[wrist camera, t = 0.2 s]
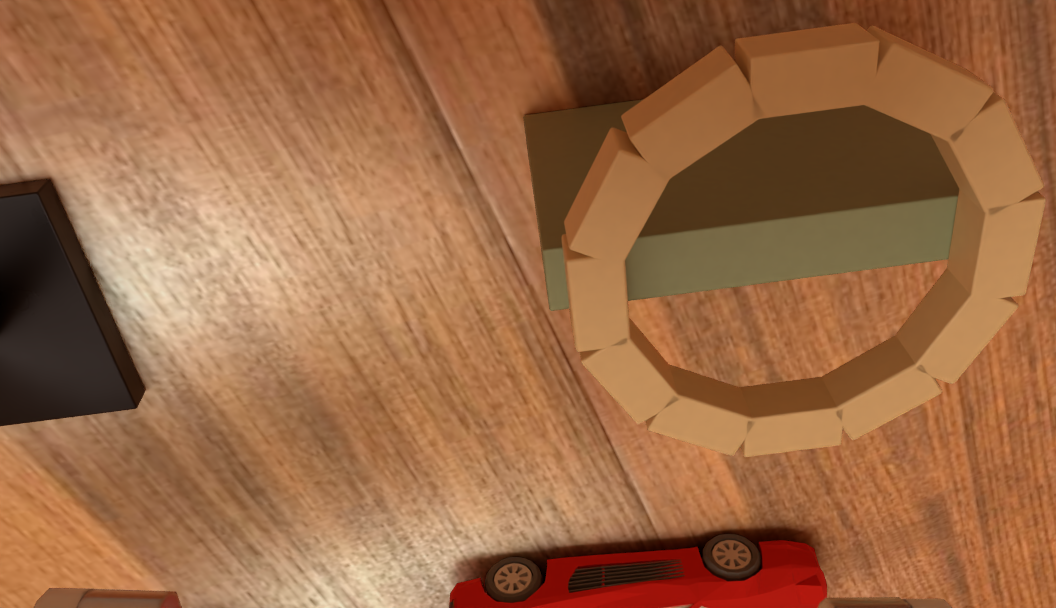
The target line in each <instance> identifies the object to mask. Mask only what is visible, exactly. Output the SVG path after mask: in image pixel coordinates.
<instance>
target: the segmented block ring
mask: <svg viewBox="0 0 1056 608" xmlns="http://www.w3.org/2000/svg"><path fill="white" fill-rule="evenodd" d="M993 91H994V89H993V88H992V87H991V86H990V85H988V84H987V83H985V82H984V81H983V80H981V79H980V78H978V77H977V76H975V75H974V74H972V73H971V72H970V71H968V70H967V69H965V68H963V67H961V66H959V65H957V64H954V63H952V62H950V61H948V60H946V59H944V58H942V57H939V56H937V55H935V54H933V53H931V52H929V51H927V50H924V49H922V48H920V47H918V46H916V45H914V44H912V43H910V42H907V41H905V40H903V39H901V38H899V37H897V36H895V35H892V34H890V33H888V32H886V31H884V30H882V29H880V28H877V27H875V26H870V27H869V28H868V30H867V31H866V30H865V29H863V28H862V27H861V26H860V25H858V24H857V23H849V24H841V25H834V26H827V27H819V28H812V29H804V30H797V31H790V32H782V33H775V34H767V35H760V36H752V37H745V38H738V39H736V40H735V61H734V60H733V59H732V57H731V56H730V55H729V54H728V52H727V51H726V50H725V49H724V47H723V46H719V47H717V48H716V49H714V50H713V51H712V52H710V53H709V54H707V55H706V56H704V57H703V58H702V59H700V60H699V61H697V62H696V63H695V64H693V65H692V66H690V67H689V68H688V69H686V70H685V71H683V72H682V73H680V74H679V75H678V76H676V77H675V78H673V79H672V80H671V81H669V82H668V83H666V84H665V85H664V86H662V87H661V88H659V89H658V90H656V91H655V92H654V93H652V94H651V95H649V96H648V97H647V98H645V99H644V100H642V101H641V102H640V103H638V104H637V105H635V106H634V107H632V108H631V109H630V110H628V111H627V112H625V113H624V114H623V115H622V116H621V118H622V121H623V123H624V126H625V128H626V131H627V133H626V132H624V131H621V130H619V129H616V128H611V129H610V130H609V132H608V134H607V136H606V138H605V140H604V142H603V144H602V146H601V148H600V150H599V152H598V154H597V156H596V158H595V160H594V162H593V164H592V166H591V168H590V170H589V172H588V174H587V176H586V178H585V180H584V182H583V184H582V186H581V188H580V190H579V192H578V194H577V196H576V198H575V200H574V202H573V204H572V206H571V208H570V210H569V212H568V215H567V217H566V219H565V221H564V225H565V230H566V234H564V235H562V238H561V239H562V248H563V257H564V266H565V275H566V284H567V292H568V301H569V310H570V319H571V326H572V332H573V338H574V343H575V349H576V350H577V352H580V358H581V363H582V364H583V365H584V366H585V367H586V368H587V369H588V371H589V372H590V373H591V374H592V375H593V376H594V377H595V378H596V379H597V380H598V381H599V383H600V384H601V385H602V386H603V387H604V388H605V389H606V390H607V391H608V392H609V394H610V395H611V396H612V397H613V398H614V399H615V400H616V401H617V402H618V403H619V405H620V406H621V407H622V408H623V409H624V410H625V411H626V412H627V413H628V414H629V415H630V417H631V418H632V419H633V420H634V421H635V422H636V423H637V424H641V423H642V422H644V421H645V422H646V426H647V429H648V430H649V431H651V432H654V433H658V434H661V435H664V436H668V437H671V438H674V439H677V440H681V441H684V442H687V443H691V444H694V445H697V446H701V447H704V448H707V449H710V450H714V451H717V452H720V453H724V454H727V455H730V456H733V455H734V454H735V453H736V451H737V450H738V449H739V447H741V450H742V452H743V455H744V457H751V456H759V455H767V454H775V453H783V452H791V451H798V450H806V449H814V448H822V447H830V446H838V445H841V440H842V429H844V431H845V432H846V433H847V435H848V436H849V437H850V439H852V440H855V439H857V438H859V437H861V436H863V435H865V434H867V433H868V432H870V431H872V430H874V429H876V428H878V427H880V426H881V425H883V424H885V423H887V422H889V421H891V420H893V419H895V418H896V417H898V416H900V415H902V414H904V413H906V412H908V411H909V410H911V409H913V408H915V407H917V406H919V405H921V404H923V403H924V402H926V401H928V400H930V399H932V398H934V397H936V396H938V395H939V394H941V393H942V389H941V387H940V386H939V384H938V382H937V381H936V379H939V380H942V381H944V382H947V383H950V384H954V383H955V382H956V381H957V380H958V379H959V377H960V376H961V375H962V374H963V373H964V371H965V370H966V369H967V368H968V367H969V365H970V364H971V363H972V362H973V361H974V359H975V358H976V357H977V356H978V355H979V353H980V352H981V351H982V350H983V349H984V347H985V346H986V345H987V344H988V343H989V341H990V340H991V339H992V338H993V337H994V335H995V334H996V333H997V332H998V331H999V330H1000V328H1001V327H1002V326H1003V325H1004V324H1005V322H1006V321H1007V320H1008V319H1009V318H1010V316H1011V315H1012V314H1013V313H1014V312H1015V310H1016V309H1017V308H1018V304H1017V303H1016V302H1015V301H1014V300H1013V299H1012V298H1011V297H1013V296H1020V295H1025V294H1026V290H1027V285H1028V280H1029V276H1030V271H1031V267H1032V262H1033V258H1034V253H1035V248H1036V244H1037V239H1038V235H1039V230H1040V225H1041V221H1042V216H1043V212H1044V207H1045V203H1046V198H1045V197H1044V196H1042V195H1041V194H1040V193H1039V192H1038V190H1040V189H1042V188H1043V187H1044V183H1043V181H1042V179H1041V177H1040V175H1039V172H1038V170H1037V168H1036V166H1035V164H1034V162H1033V159H1032V157H1031V155H1030V153H1029V151H1028V149H1027V147H1026V144H1025V142H1024V140H1023V138H1022V136H1021V134H1020V131H1019V129H1018V127H1017V125H1016V123H1015V121H1014V119H1013V116H1012V114H1011V112H1010V110H1009V108H1008V106H1007V104H1006V101H1005V99H1003V98H1002V97H1000V96H999V95H997V94H996V93H995V92H993ZM860 105H865V106H868V107H870V108H872V109H875V110H877V111H879V112H881V113H884V114H886V115H888V116H891V117H893V118H895V119H897V120H900V121H902V122H904V123H907V124H909V125H911V126H913V127H916V128H918V129H920V130H922V131H925V132H927V133H929V134H931V136H932V138H933V140H934V142H935V143H936V145H937V147H938V149H939V151H940V153H941V155H942V157H943V159H944V161H945V162H946V164H947V166H948V168H949V170H950V172H951V174H952V176H953V178H954V180H955V181H956V183H957V185H958V187H959V195H958V201H957V207H956V213H955V220H954V226H953V232H952V239H951V245H950V251H949V258H948V264H947V269H946V270H945V271H944V272H943V274H942V275H941V276H940V278H939V279H938V280H937V282H936V283H935V284H934V285H933V287H932V288H931V289H930V291H929V292H928V293H927V295H926V296H925V297H924V298H923V300H922V301H921V302H920V304H919V305H918V306H917V308H916V309H915V310H914V312H913V313H912V314H911V315H910V317H909V318H908V319H907V321H906V322H905V323H904V325H903V326H902V327H901V328H900V330H899V331H898V332H897V334H896V335H895V336H893V337H891V338H890V339H888V340H886V341H884V342H883V343H881V344H879V345H877V346H876V347H874V348H872V349H870V350H868V351H867V352H865V353H863V354H861V355H860V356H858V357H856V358H854V359H852V360H851V361H849V362H847V363H845V364H844V365H842V366H840V367H838V368H837V369H835V370H833V371H831V372H829V373H828V374H826V375H824V376H822V377H817V378H809V379H801V380H793V381H785V382H777V383H770V384H762V385H754V386H746V387H736V386H733V385H730V384H727V383H724V382H721V381H718V380H715V379H712V378H709V377H706V376H703V375H700V374H697V373H694V372H691V371H687V370H684V369H681V368H678V367H675V366H672V365H669V364H668V363H667V362H666V361H665V359H664V358H663V357H662V356H661V355H660V353H659V352H658V351H657V350H656V349H655V348H654V346H653V345H652V344H651V343H650V342H649V340H648V339H647V338H646V337H645V336H644V334H643V333H642V332H641V331H640V330H639V329H638V327H637V326H636V325H635V324H634V323H633V321H632V320H631V319H630V318H629V310H628V295H627V281H626V266H625V259H626V258H627V256H628V254H629V252H630V250H631V248H632V247H633V245H634V243H635V241H636V239H637V238H638V236H639V234H640V232H641V230H642V229H643V227H644V225H645V223H646V221H647V219H648V218H649V216H650V214H651V212H652V210H653V209H654V207H655V205H656V203H657V201H658V200H659V198H660V196H661V194H662V192H663V190H664V189H665V187H666V185H667V183H668V181H669V180H670V178H672V177H673V176H675V175H676V174H678V173H679V172H681V171H682V170H684V169H685V168H687V167H688V166H690V165H691V164H693V163H694V162H696V161H697V160H699V159H700V158H702V157H703V156H705V155H706V154H708V153H709V152H711V151H712V150H714V149H715V148H716V147H718V146H719V145H721V144H722V143H724V142H725V141H727V140H728V139H730V138H731V137H733V136H734V135H736V134H737V133H739V132H740V131H742V130H743V129H745V128H746V127H748V126H749V125H751V124H752V123H754V122H755V121H757V120H758V119H762V118H770V117H777V116H785V115H792V114H800V113H807V112H815V111H822V110H830V109H837V108H845V107H852V106H860ZM935 378H936V379H935Z"/></svg>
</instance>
